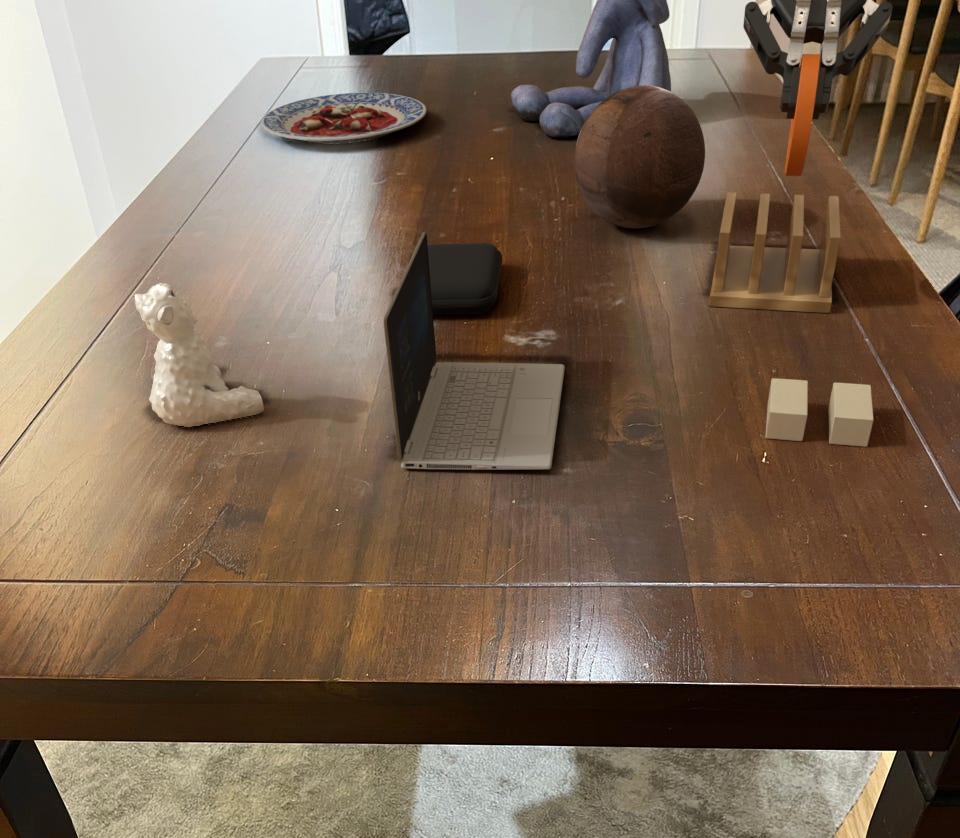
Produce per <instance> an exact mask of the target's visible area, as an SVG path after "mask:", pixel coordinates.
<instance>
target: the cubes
mask: <svg viewBox="0 0 960 838" xmlns="http://www.w3.org/2000/svg"><path fill="white" fill-rule="evenodd" d="M808 394H809V381H808V380H806V379H805V380H804V379H792V378H791V379H789V378H777V377H775V378H774V377H772V378H771V381H770V387H769V393H768V399H767V409H766V422H765V437H764V438H765V439H768V440H781V441H791V442H793V441H794V442H803V440H804V436H805V430H806V426H807V420H808V413H809V412H808V409H809V408H808V407H809V404H808V401H809V400H808V399H809V398H808V397H809V396H808ZM872 396H873V395H872V386H871V384H863V383H862V384H861V383H848V382H833V384H832V389H831V394H830V398H829V404H828V408H827V411H828V412H827V413H828V414H827V415H828V444H830V445H840V446H851V447H864V448H867V447H868V446H869V442H870V437H871V433H872V429H873V424H874V408H873V397H872Z"/></svg>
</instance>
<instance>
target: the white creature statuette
mask: <svg viewBox="0 0 960 838" xmlns="http://www.w3.org/2000/svg"><path fill="white" fill-rule="evenodd" d="M134 304H135V305H134V306H135V309H136V310H137V311H138V313H139V315H140V318H141V320H142V321H143V322H145V325H146V328H147V329H148V331H149V332H152V333H153V334H154V335H155V336H156V338H158V339H159V341H157V343H156V349H155V352H154V354H153V358H154V360H155V366H154V371H155V373H154V374H153V376H152V378H153V380H152V381H153V382H152V385H151V390H150V395H149V398H148V400H149V402H150V404H151V409H152V411H153V412H155V413H156V414H157V416H158V418H160V419H161V420H162V421H163V422H164V423H165V424H168V425H171V426H172V425H173V426H176V425H178V426H188V427H189V426H195V425H201V424H208V423H210V422H211V423H215V422H217V421H221V420H229V419H230V420H229V421H232V420H231V419H234V418H239V417H245V416H251V415H256V414H258V415H260V414H261V413H263V412H264V411H265V408H264V401H263V398H262V395H261V394H260V393H259V391H258V390H257V389H252V388H248V387H245V386H243V385H239V387H237V388H236V387H235V388H231V389H229V387H227V385H226V382H225V381H224V380H223V377H222V375H223V374H222V372H221V369H220V368H219V367H218V366H217V365H215V364H214V359H213V357H212V353H211V351H210V350H209V348H208V347H206V346H205V344H204V341H203V339H202V338H201V337H200V334H199V333H198V331H197V330H196V329H195V325H196V324H197V323H198V318H197V316H196V315H194V313H193V310H191V307H190V305H188V300H187V298H185V297H183V296H179V295H178V294H177V293H176V292H175V291H174V290H173V286H172V285H170V284H169V283H166V282H165V283H163V282H158V283H157V284H155V285H152V286H151V287H150V288H149V289H148V291H147V292H146V293H135V294H134ZM256 416H257V415H256ZM251 417H252V416H251ZM245 418H246V417H245ZM215 424H216V423H215ZM208 425H209V424H208ZM178 426H177V427H178Z"/></svg>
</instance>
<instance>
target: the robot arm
mask: <svg viewBox="0 0 960 838" xmlns="http://www.w3.org/2000/svg"><path fill="white" fill-rule="evenodd" d="M893 9H894V6H893V4H892V3H891V2H889V1H884V2H881V3H880V4H879V3H877V2H875V1H874V0H764V1H762V2H760V3H759V4H758V3H757V2H756V1H750V2H748V3H747V4H746V5H745V7H744V13H743V14H744V16H743V27H742V28H743V30H744V32H745V33H746V36H747V37H748V39H749V42H750V44H751V45H752V47H753V50H754V51H755V54H756V55H757V57H758V60H759V61H760V63H761V65H762V67H763V69H764V71H765V73H766V74H768V75H775V74H777V75H779V76H780V77H781V78H782V80H783V81H782V89H781V97H780V102H779V103H780V104H779V109H780V112H781V113H786V116H785V117H786V120H791V119H794V115H795V110H796V103H797V95H798V88H799V80H800V72H801V67H800V63H801V58H802V55H803V48H804V45H805V44H809V43H816V44H820V49H819V54H820V65H819V75H818V83H817V90H816V98H815V105H814V111H813V118H812V120H819V118H820V115H821V114H825V113H826V112H827V110H828V108H829V105H830V101H831V94H832V86H833V79H834V78H835V77H837V76H839V75H842V76H844V77H846V76H850V75H851V74H852V73H853V72H854V71H855V70H856V68H857V67H858V66H859V64H860V63H861V62H862V60H863V59H864V58H865V57H866V56H867V55H868V53H869V52H870V51H871V49H872V48H873V47H874V46H875V44H876V43H877V42H878V41H879V39H880V38H881V36H882V35H883V34H884V33H885V31H886V30H887V29H888V26H889V23H890V20H891V16H892V12H893ZM772 15H773V16H774V18H775V20H776V21H777V23H778V24H779V26H780V27H781V29H782V31H783V32H784V34H785V35H786V37H787V38H788V39H789V43H788V44H789V45H788V50H787V52H786V51H783V50H782V49H781V47H780V44H779V43H778V41H777V38H776V36H775V35H774V33H773V31H772V29H771V27H770V26H771V22H772V21H771V20H772ZM860 15H861V16H862V18H861V22H860V29H859V31H858V32H857V33H856V34H855V36H854V37H853V38H852V40H851V41H850V42H849V44H848V45H847V46H846V47H845V49H844V50H843V51H839V52H838V42H839V38H840V37H841V36H842V35H844V33H845V32H846V30H847V29H848V28H849V27H851V26H852V24H853V23H854V22H855V21H856V20H857V18H858V17H859V16H860Z"/></svg>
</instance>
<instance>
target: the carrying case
mask: <svg viewBox="0 0 960 838" xmlns="http://www.w3.org/2000/svg"><path fill="white" fill-rule="evenodd" d="M427 245H428V257H429V270H430V283H431V296H432V308H433V316H434V315H435V316H437V315H443V316H444V315H446V316H447V315H481V314H485V313H487V312H489V311H490V310H491V309H492V307H493V306H494V305H496V302H497V299H498V295H499V287H500V281H501V272H502V266H503V254H502V251H500V250H499V249H498V247H497V246H495V245H494V244H492V243H489V242H488V243H487V242H482V243H479V242H478V243H476V242H475V243H433V244H427Z"/></svg>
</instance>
